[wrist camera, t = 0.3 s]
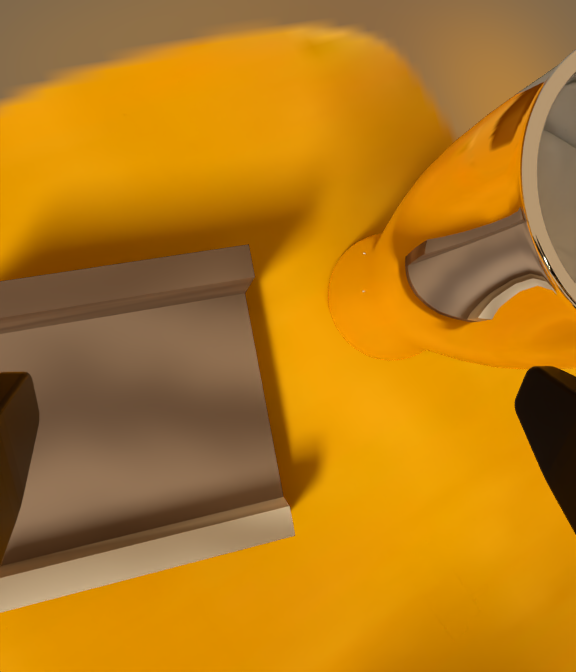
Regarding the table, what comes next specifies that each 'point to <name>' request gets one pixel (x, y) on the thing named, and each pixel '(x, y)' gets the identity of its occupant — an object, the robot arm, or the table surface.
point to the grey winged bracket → (138, 423)
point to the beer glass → (478, 245)
